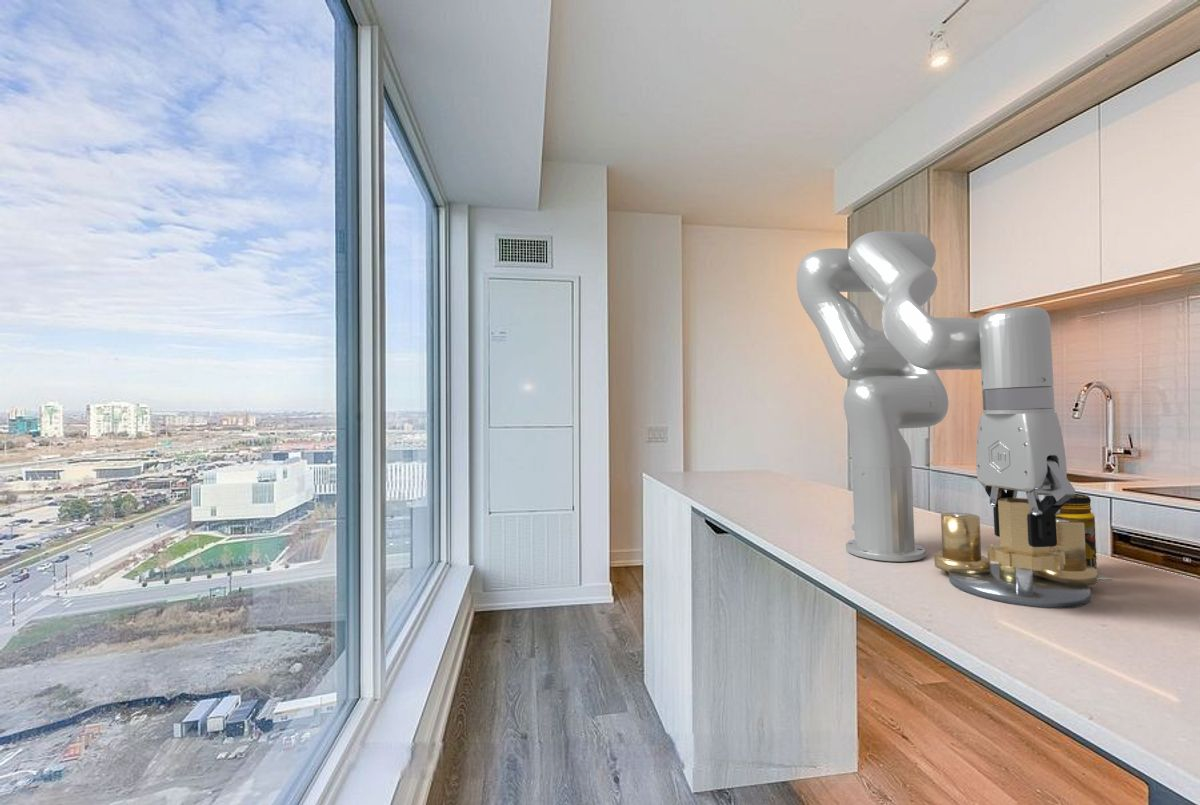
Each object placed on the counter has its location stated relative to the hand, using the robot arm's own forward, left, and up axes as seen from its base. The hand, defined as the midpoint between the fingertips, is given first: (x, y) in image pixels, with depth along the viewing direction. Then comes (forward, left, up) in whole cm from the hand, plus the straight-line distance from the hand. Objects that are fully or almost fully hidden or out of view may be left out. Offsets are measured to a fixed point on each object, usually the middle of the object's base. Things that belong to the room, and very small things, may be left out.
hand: (1024, 539), depth 72 cm
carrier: (-7, +5, -8) cm, 12 cm away
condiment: (-13, +16, -9) cm, 22 cm away
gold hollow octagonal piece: (0, 0, -3) cm, 3 cm away
